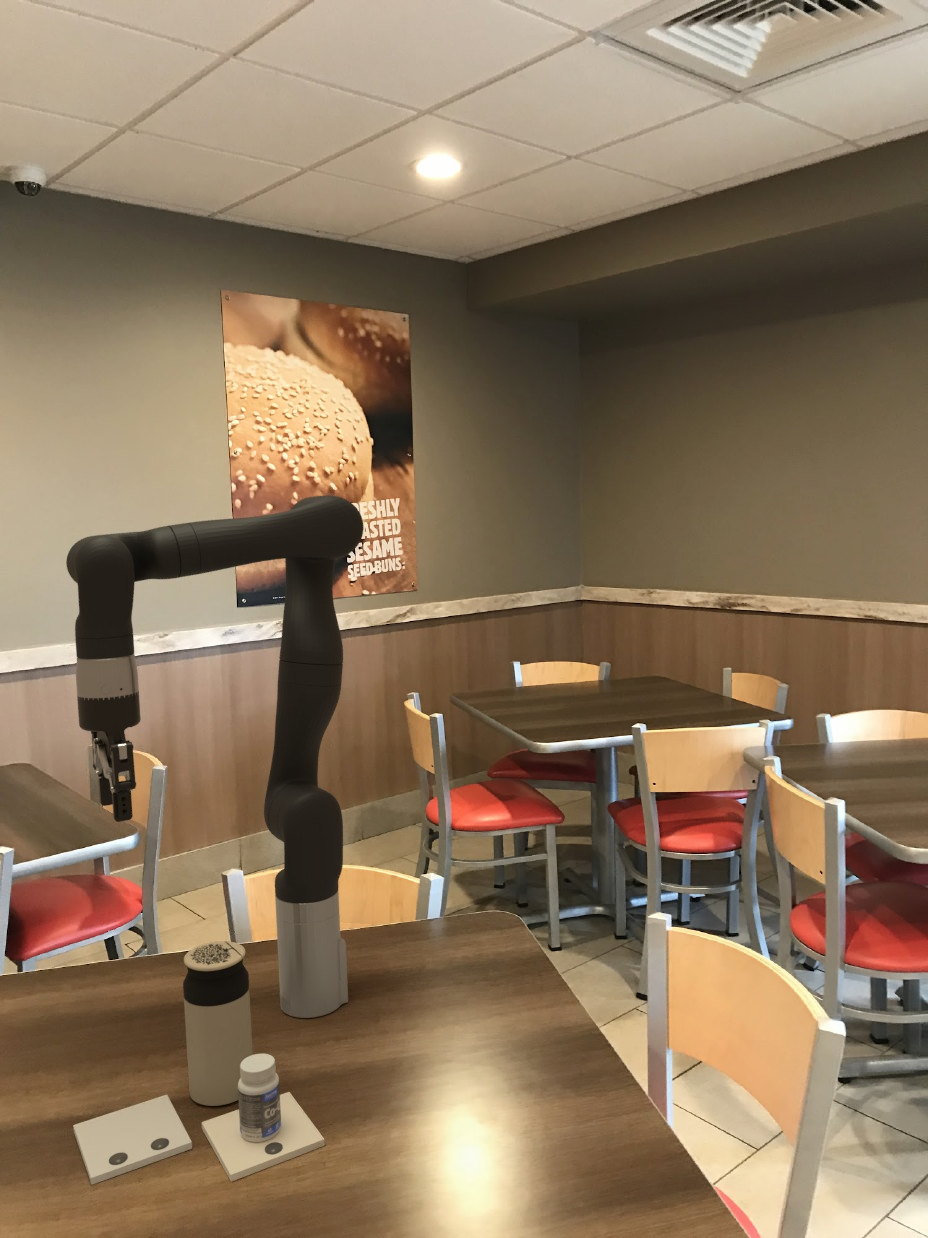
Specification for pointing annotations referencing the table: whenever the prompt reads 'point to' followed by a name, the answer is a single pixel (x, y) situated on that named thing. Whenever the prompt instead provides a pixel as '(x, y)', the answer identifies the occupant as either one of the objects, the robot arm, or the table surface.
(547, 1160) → the table surface
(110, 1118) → the two-dot pad
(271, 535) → the robot arm
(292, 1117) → the one-dot pad
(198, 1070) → the travel mug
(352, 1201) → the table surface
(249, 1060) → the pill bottle
